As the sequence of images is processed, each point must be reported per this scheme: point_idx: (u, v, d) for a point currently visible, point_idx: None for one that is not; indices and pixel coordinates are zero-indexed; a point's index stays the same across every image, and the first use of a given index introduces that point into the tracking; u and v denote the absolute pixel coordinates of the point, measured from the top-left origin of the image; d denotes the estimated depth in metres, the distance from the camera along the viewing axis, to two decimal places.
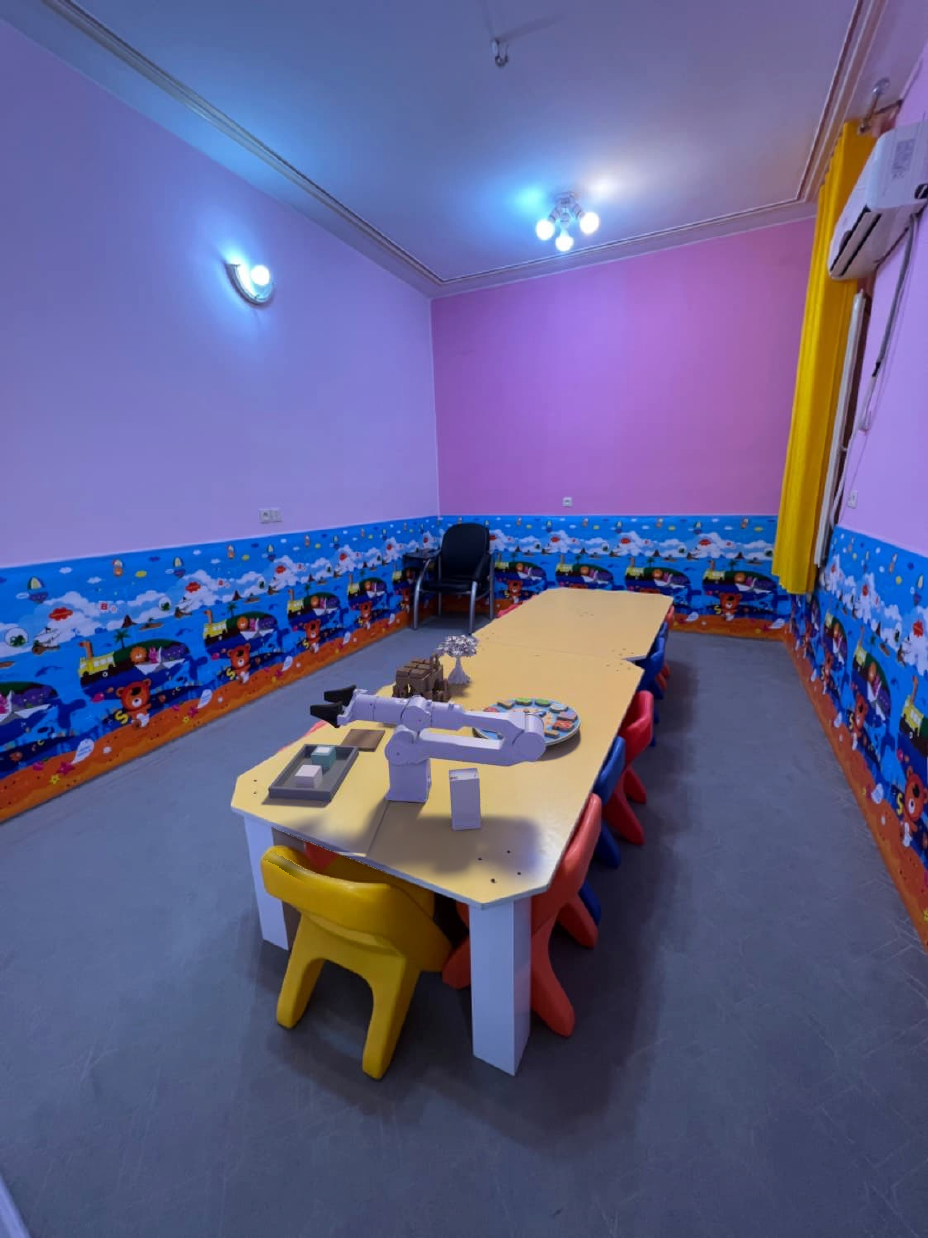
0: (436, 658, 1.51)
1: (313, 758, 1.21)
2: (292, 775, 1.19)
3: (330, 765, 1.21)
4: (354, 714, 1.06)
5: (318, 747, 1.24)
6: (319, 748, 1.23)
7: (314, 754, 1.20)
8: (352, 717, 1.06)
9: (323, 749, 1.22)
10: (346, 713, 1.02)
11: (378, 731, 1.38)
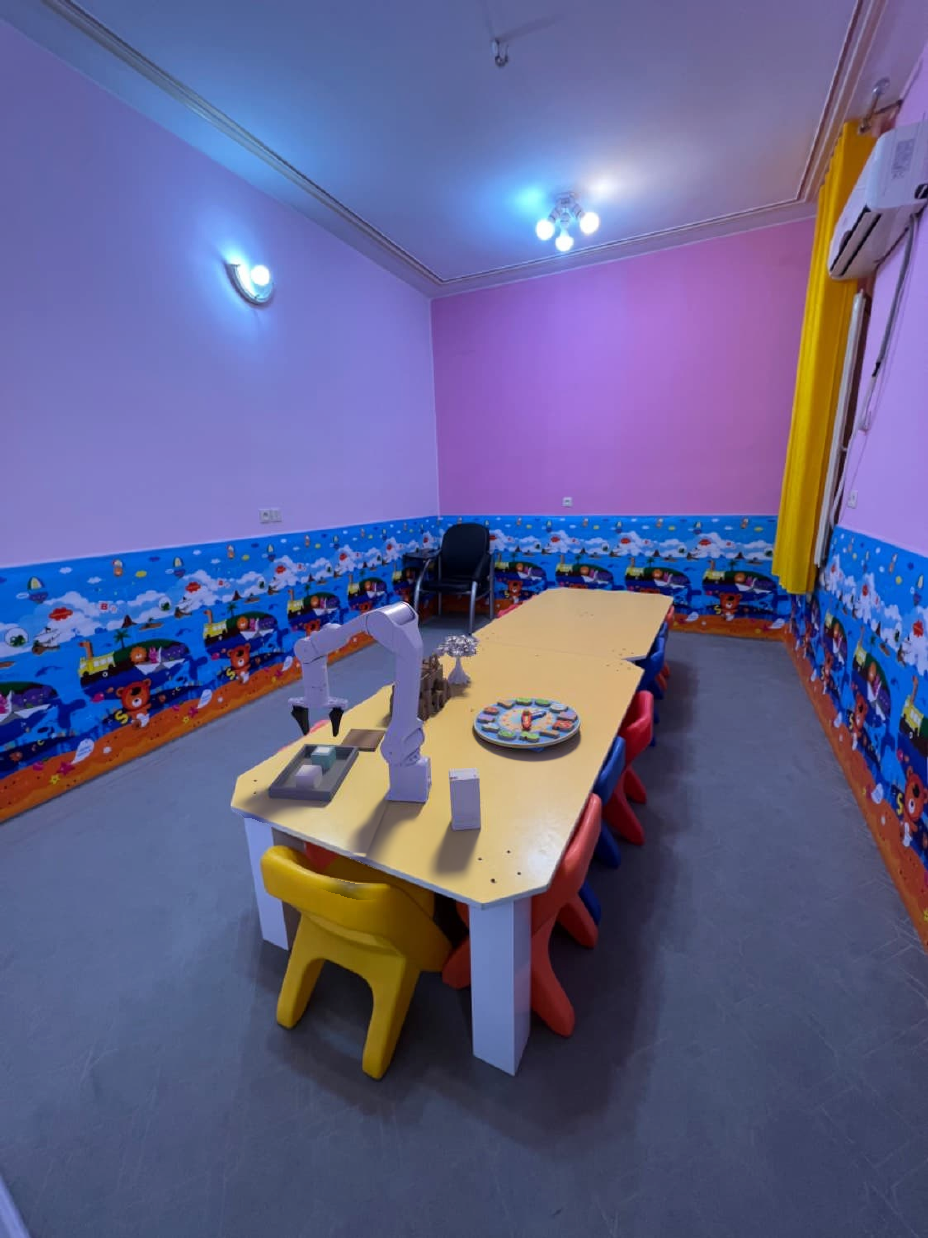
0: (435, 658, 1.51)
1: (313, 758, 1.21)
2: (292, 775, 1.19)
3: (330, 765, 1.21)
4: None
5: (318, 747, 1.24)
6: (319, 748, 1.23)
7: (314, 754, 1.20)
8: (304, 703, 1.18)
9: (323, 749, 1.22)
10: None
11: (378, 731, 1.38)
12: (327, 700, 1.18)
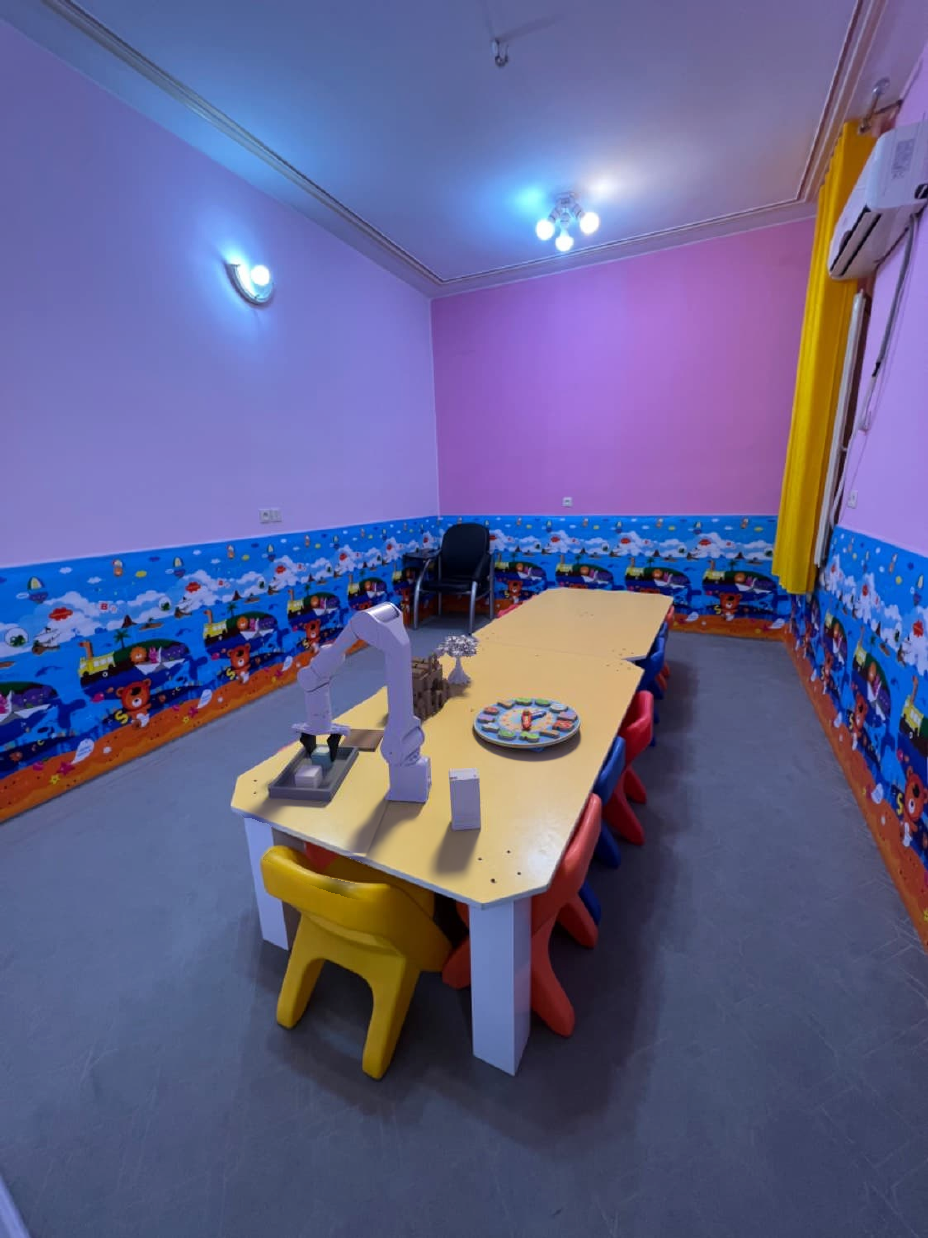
0: (435, 658, 1.51)
1: (313, 758, 1.21)
2: (292, 775, 1.19)
3: (330, 765, 1.21)
4: None
5: (318, 747, 1.24)
6: (318, 748, 1.23)
7: (314, 754, 1.20)
8: (307, 729, 1.20)
9: (323, 749, 1.22)
10: None
11: (378, 731, 1.38)
12: (330, 726, 1.19)
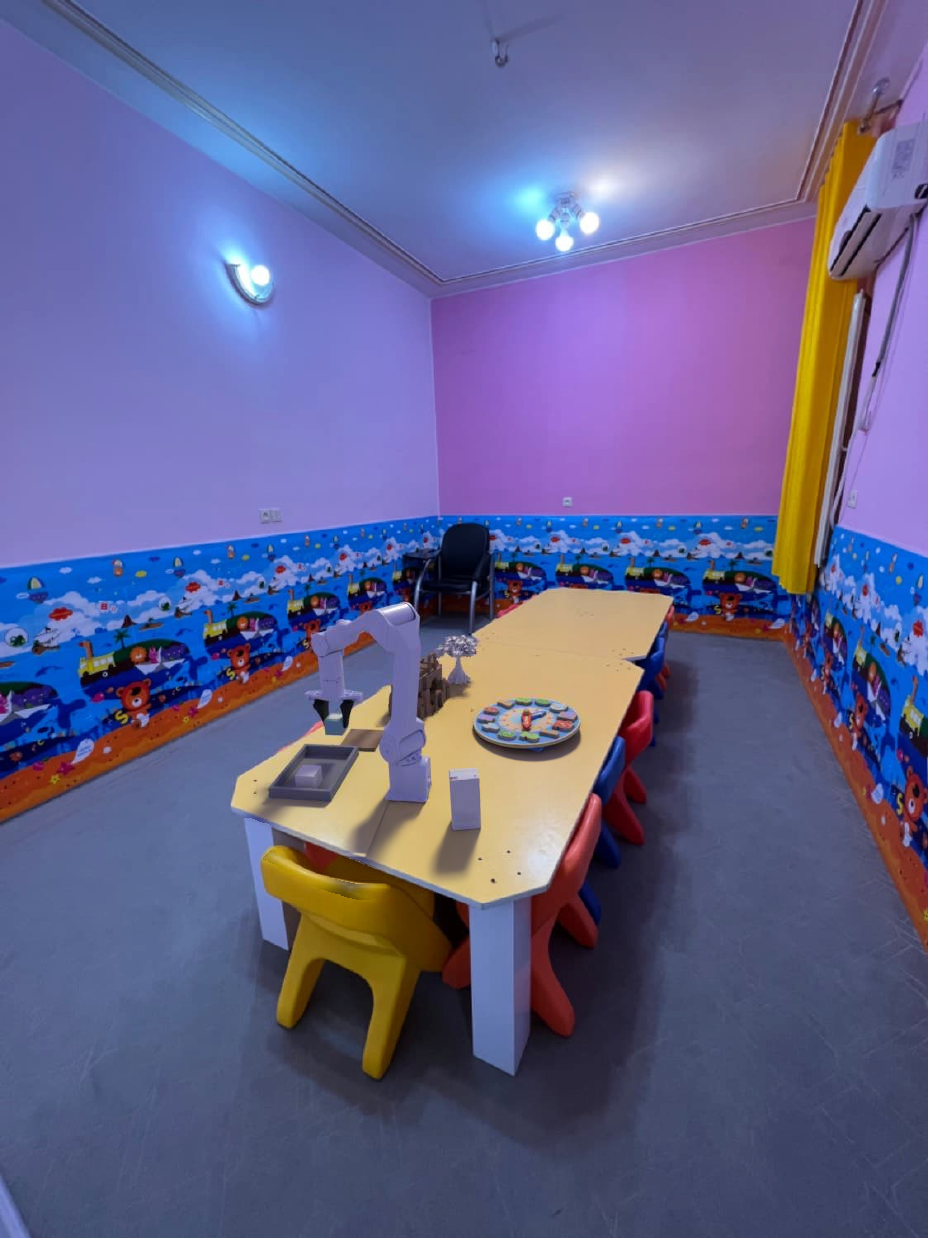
0: (434, 657, 1.52)
1: (326, 724, 1.23)
2: (292, 775, 1.19)
3: (343, 731, 1.24)
4: None
5: (330, 714, 1.26)
6: (331, 715, 1.25)
7: (327, 720, 1.23)
8: (321, 695, 1.22)
9: (336, 716, 1.25)
10: None
11: (378, 731, 1.38)
12: (343, 693, 1.22)
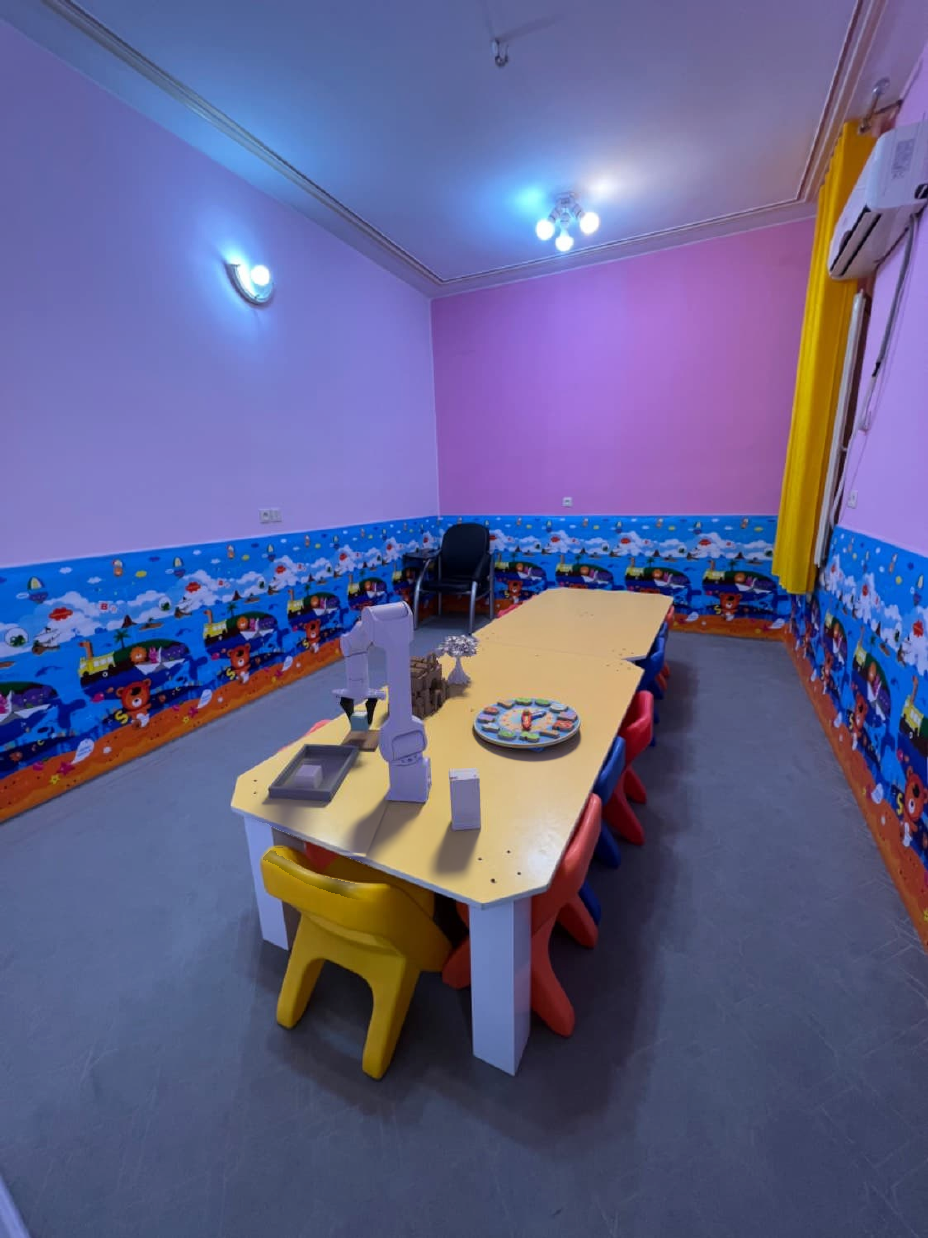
0: (434, 657, 1.52)
1: (352, 721, 1.31)
2: (292, 775, 1.19)
3: (367, 727, 1.31)
4: None
5: (355, 711, 1.34)
6: (356, 712, 1.33)
7: (353, 717, 1.31)
8: (347, 694, 1.30)
9: (360, 713, 1.33)
10: None
11: (378, 731, 1.38)
12: (368, 691, 1.30)
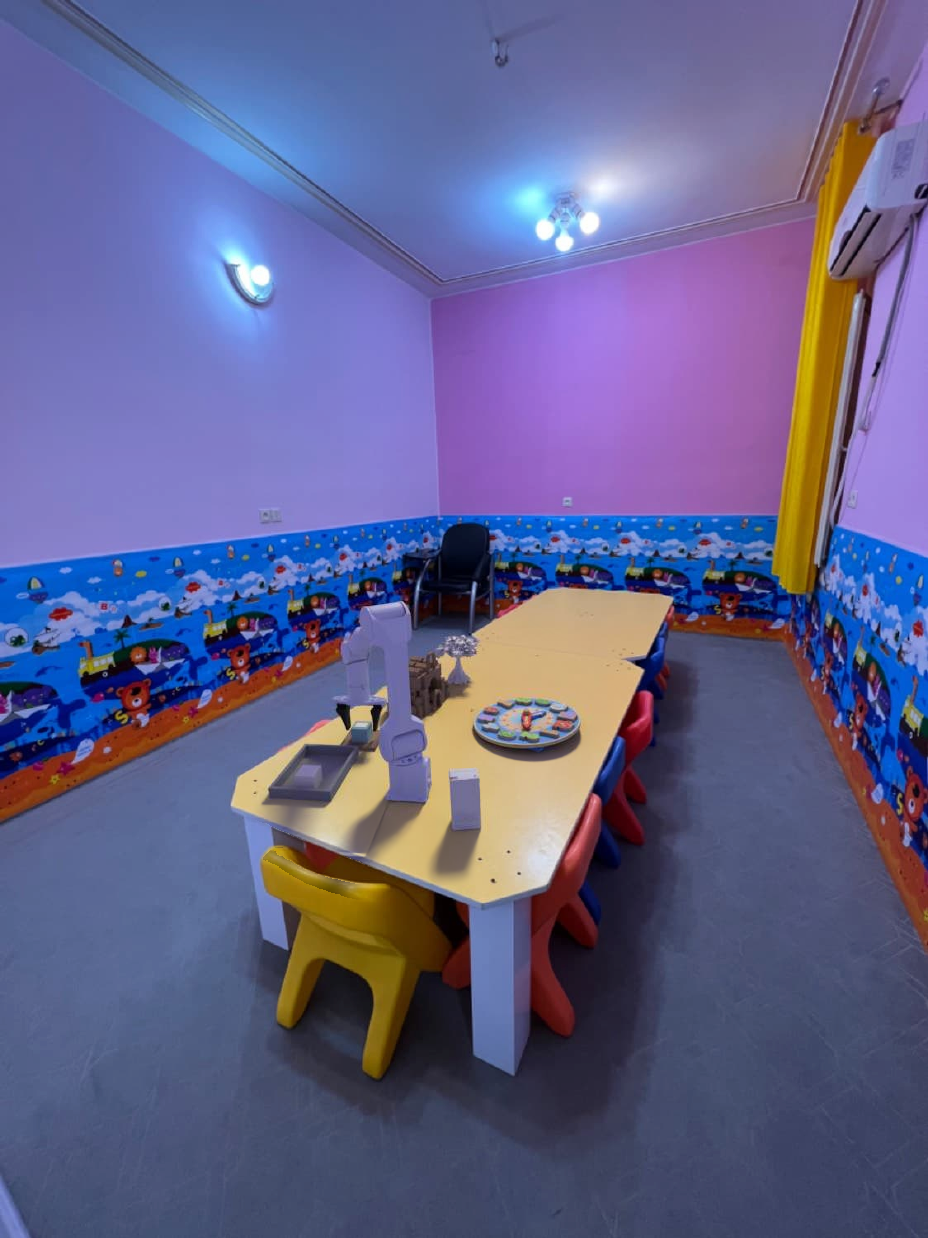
0: (433, 657, 1.52)
1: (353, 732, 1.32)
2: (292, 775, 1.19)
3: (368, 738, 1.32)
4: None
5: (356, 722, 1.35)
6: (357, 723, 1.34)
7: (354, 728, 1.32)
8: (348, 700, 1.30)
9: (361, 724, 1.33)
10: None
11: (378, 731, 1.38)
12: (368, 698, 1.30)
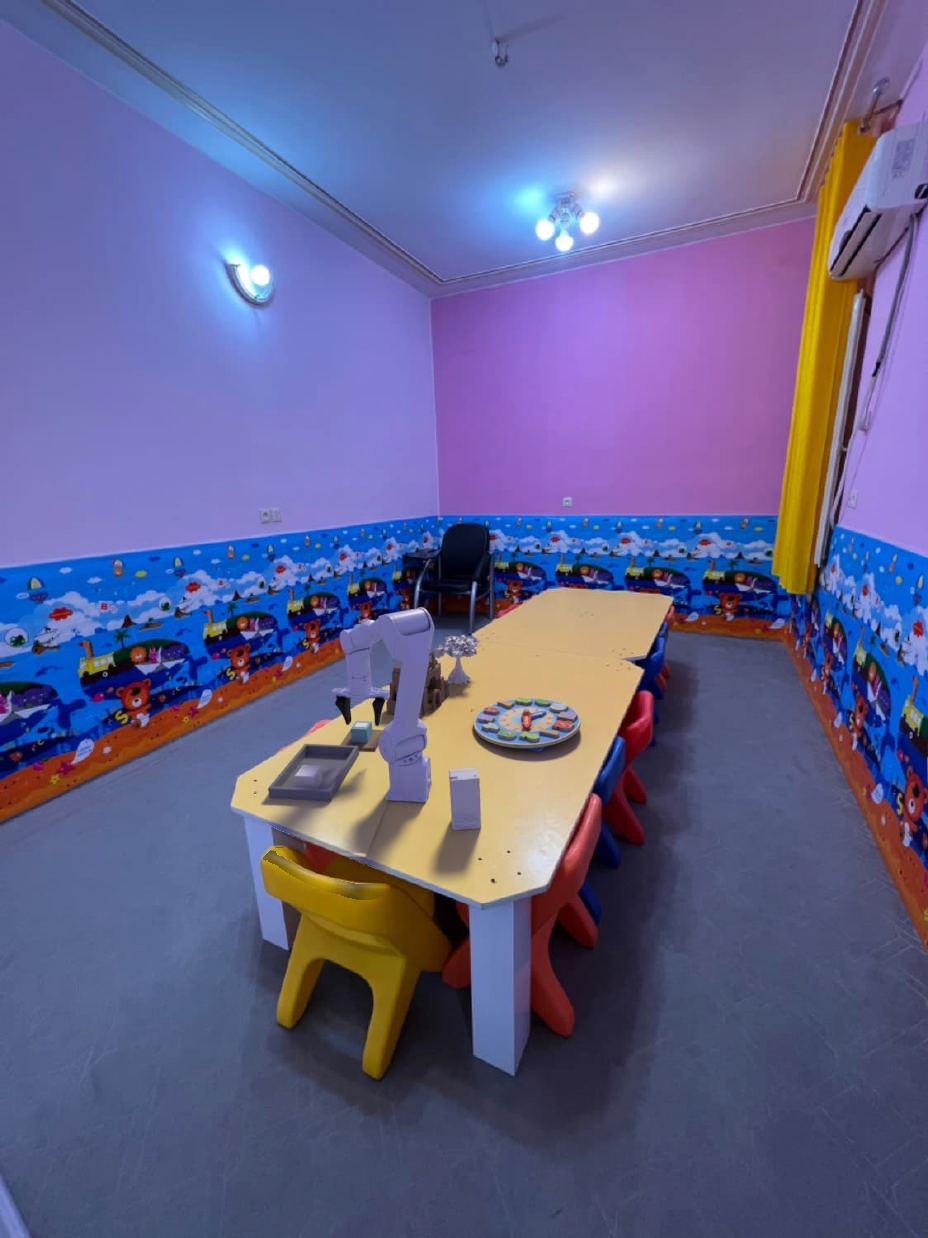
0: (432, 656, 1.52)
1: (353, 732, 1.32)
2: (292, 775, 1.19)
3: (368, 738, 1.32)
4: None
5: (356, 722, 1.35)
6: (357, 723, 1.34)
7: (354, 728, 1.32)
8: (348, 693, 1.22)
9: (361, 724, 1.33)
10: None
11: (378, 731, 1.38)
12: (370, 690, 1.22)
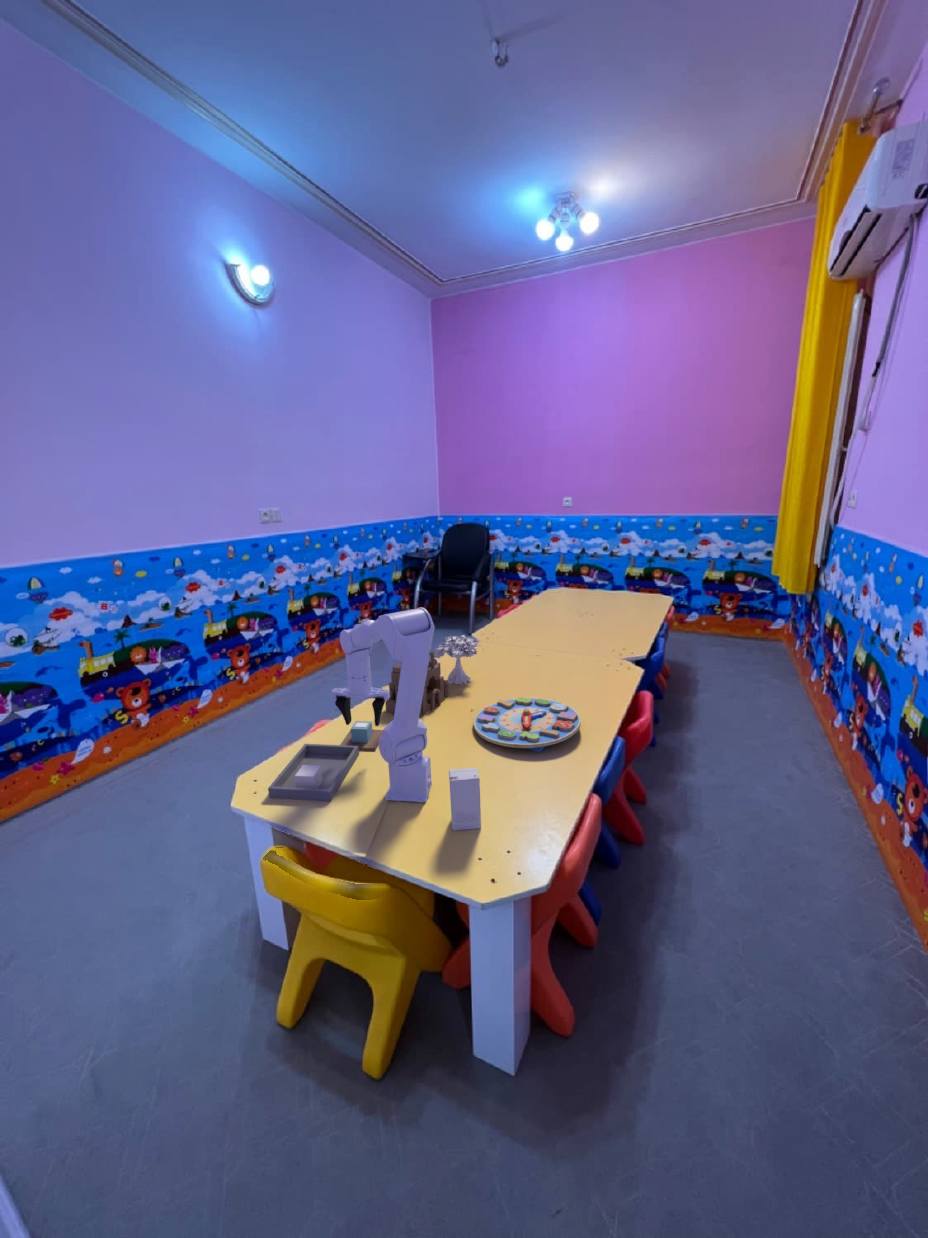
0: (432, 656, 1.53)
1: (353, 732, 1.32)
2: (292, 775, 1.19)
3: (368, 738, 1.32)
4: None
5: (356, 722, 1.35)
6: (357, 723, 1.34)
7: (354, 728, 1.32)
8: (348, 693, 1.22)
9: (361, 724, 1.33)
10: None
11: (378, 731, 1.38)
12: (370, 690, 1.22)
